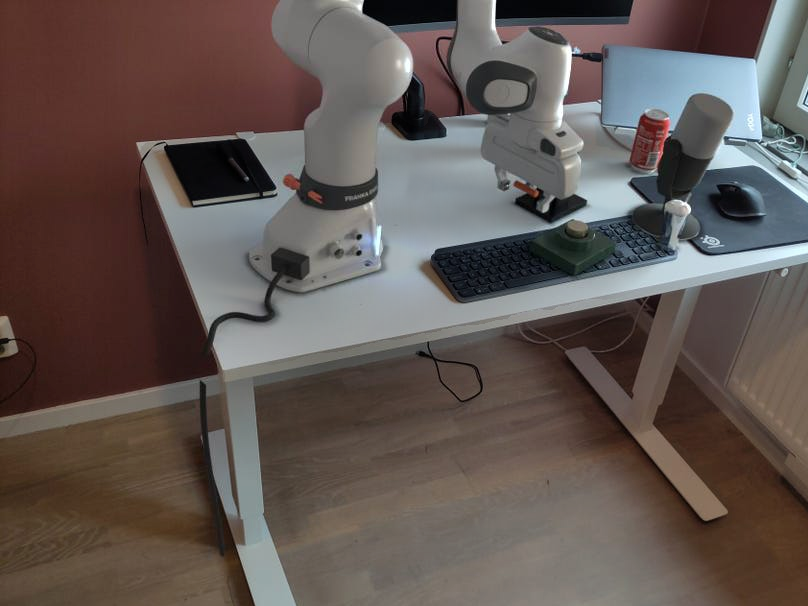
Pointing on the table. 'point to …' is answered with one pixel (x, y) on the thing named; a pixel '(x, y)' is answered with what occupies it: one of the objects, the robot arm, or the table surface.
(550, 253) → the button housing
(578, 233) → the button
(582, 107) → the table surface
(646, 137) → the beverage can
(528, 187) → the switch lever
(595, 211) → the table surface
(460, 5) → the robot arm
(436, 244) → the table surface
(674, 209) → the milkshake
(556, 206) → the switch bracket
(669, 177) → the microphone
